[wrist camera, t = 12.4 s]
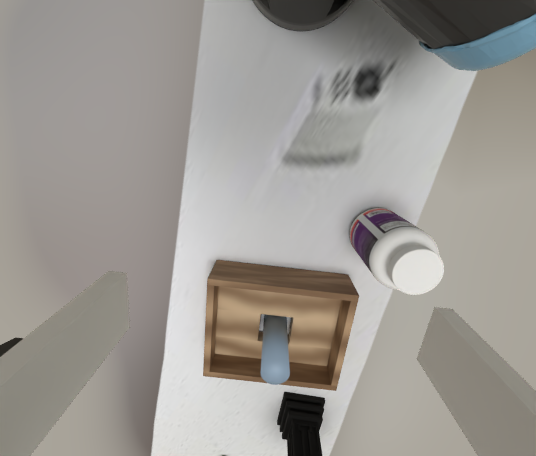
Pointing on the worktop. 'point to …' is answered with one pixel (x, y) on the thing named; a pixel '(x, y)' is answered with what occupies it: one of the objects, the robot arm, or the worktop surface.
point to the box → (279, 304)
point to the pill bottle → (396, 251)
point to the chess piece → (301, 423)
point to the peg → (275, 350)
